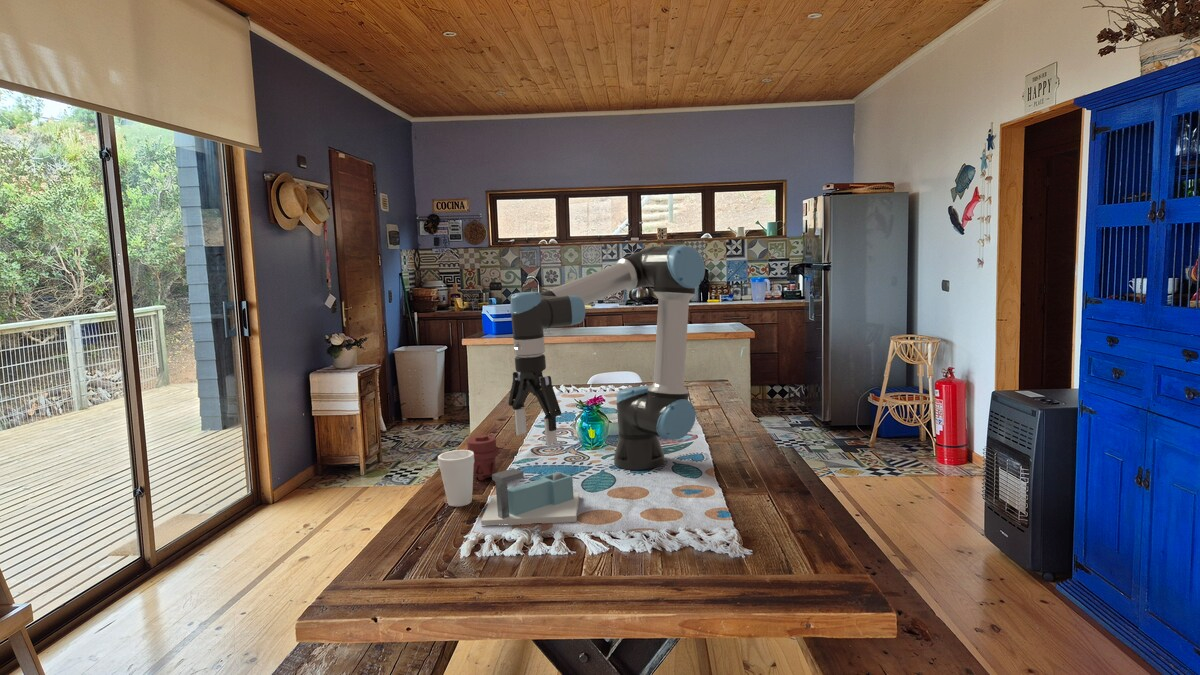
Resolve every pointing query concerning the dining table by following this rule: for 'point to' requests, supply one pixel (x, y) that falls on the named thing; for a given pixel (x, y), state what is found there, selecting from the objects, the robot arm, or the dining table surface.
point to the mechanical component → (483, 455)
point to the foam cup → (457, 476)
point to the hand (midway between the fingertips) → (536, 438)
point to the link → (540, 493)
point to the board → (535, 512)
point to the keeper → (504, 489)
